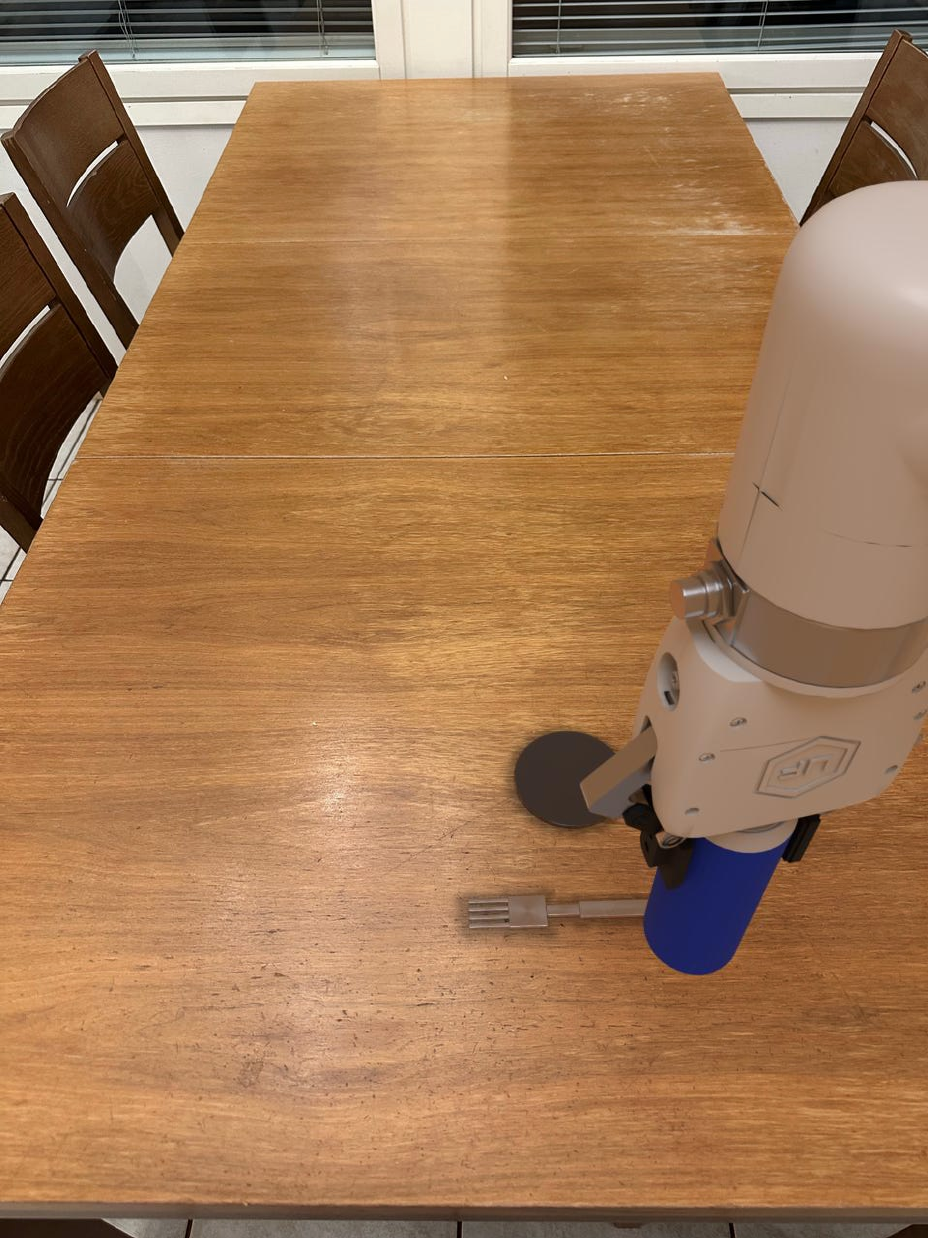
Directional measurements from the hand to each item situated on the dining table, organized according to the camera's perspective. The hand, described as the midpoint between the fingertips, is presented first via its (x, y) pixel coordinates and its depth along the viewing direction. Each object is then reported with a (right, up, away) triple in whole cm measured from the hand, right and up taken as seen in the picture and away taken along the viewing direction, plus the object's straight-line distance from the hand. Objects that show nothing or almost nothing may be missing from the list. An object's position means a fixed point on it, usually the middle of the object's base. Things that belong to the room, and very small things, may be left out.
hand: (721, 846), depth 45 cm
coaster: (-4, -2, +32) cm, 32 cm away
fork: (-3, -11, +24) cm, 27 cm away
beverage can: (0, -7, +7) cm, 10 cm away
